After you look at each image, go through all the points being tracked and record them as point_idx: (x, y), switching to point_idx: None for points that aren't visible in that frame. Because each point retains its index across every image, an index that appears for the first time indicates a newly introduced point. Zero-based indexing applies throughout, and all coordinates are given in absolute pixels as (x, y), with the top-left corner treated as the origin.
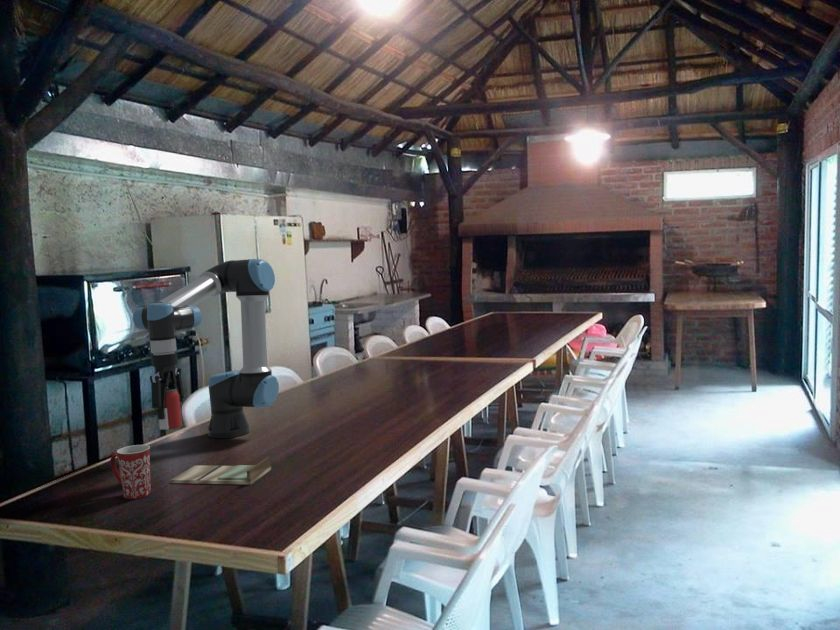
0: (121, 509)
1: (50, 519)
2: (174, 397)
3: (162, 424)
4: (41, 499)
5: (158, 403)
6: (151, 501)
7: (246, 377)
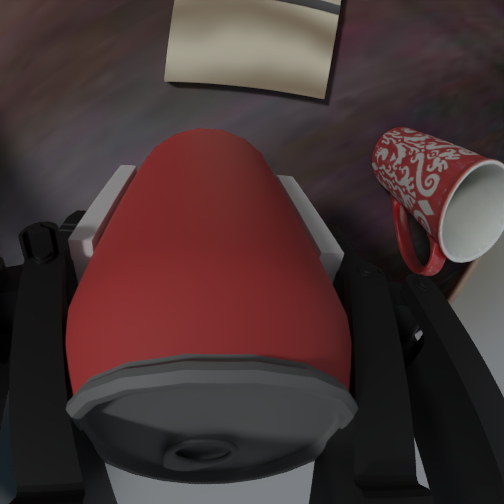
0: None
1: None
2: (288, 257)
3: None
4: None
5: (445, 309)
6: (445, 105)
7: None
